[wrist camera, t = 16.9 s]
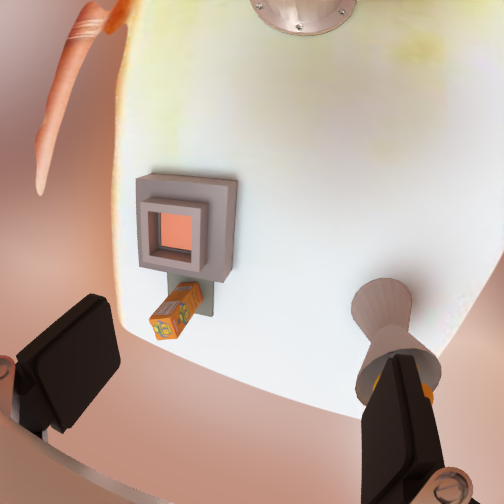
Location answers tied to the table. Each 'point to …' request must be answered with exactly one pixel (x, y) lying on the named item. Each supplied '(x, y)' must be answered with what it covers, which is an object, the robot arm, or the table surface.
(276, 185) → the table surface
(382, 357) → the lava lamp
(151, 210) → the frame
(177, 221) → the breaker button
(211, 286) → the rest mat
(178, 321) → the supplement box
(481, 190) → the table surface
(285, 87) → the table surface
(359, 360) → the table surface
